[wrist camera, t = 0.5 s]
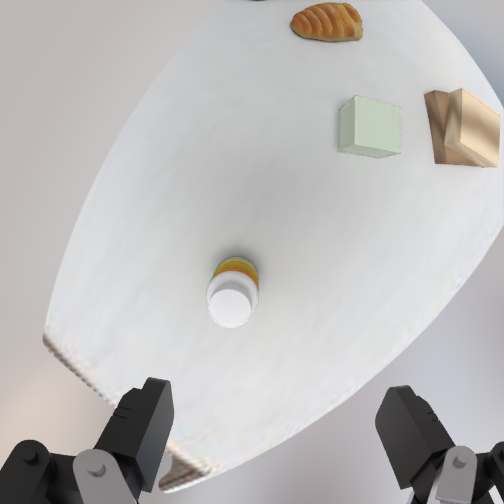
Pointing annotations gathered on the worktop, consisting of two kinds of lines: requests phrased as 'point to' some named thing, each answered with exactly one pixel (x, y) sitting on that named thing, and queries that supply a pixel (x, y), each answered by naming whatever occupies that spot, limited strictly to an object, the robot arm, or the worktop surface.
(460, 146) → the block top
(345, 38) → the pastry
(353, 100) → the sage block
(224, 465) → the worktop surface
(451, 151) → the block bottom
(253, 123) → the worktop surface
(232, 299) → the supplement bottle
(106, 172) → the worktop surface
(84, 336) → the worktop surface
